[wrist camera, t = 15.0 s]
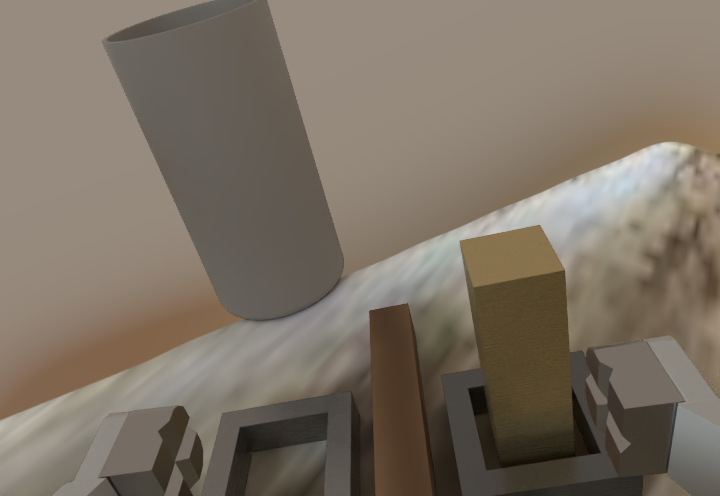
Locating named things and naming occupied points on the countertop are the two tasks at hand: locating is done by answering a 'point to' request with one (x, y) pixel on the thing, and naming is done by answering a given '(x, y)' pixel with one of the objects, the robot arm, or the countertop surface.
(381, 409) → the rail
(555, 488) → the frame
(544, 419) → the lock bar
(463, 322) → the countertop surface
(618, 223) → the countertop surface
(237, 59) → the tall grey cup
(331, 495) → the grey square frame
